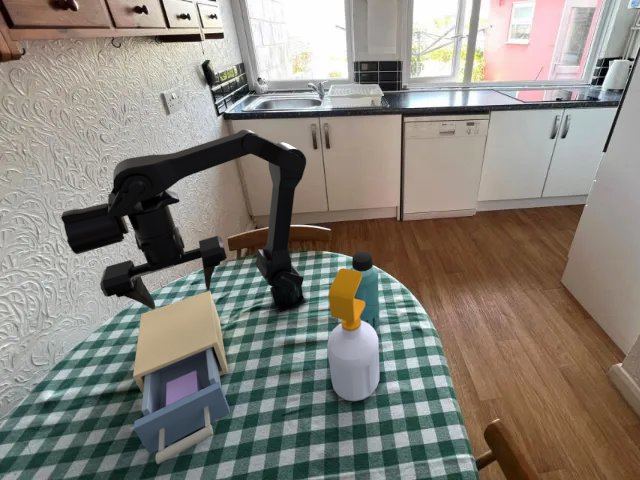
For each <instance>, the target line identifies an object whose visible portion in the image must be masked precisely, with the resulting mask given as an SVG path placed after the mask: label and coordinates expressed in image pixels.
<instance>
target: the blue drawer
mask: <svg viewBox="0 0 640 480" xmlns="http://www.w3.org/2000/svg"><path fill="white" fill-rule="evenodd" d="M195 370H196V371H197V374H198V376H199V379H200V381H201V383H202V386H203V389H202V390H200V391H198V392H196V393H194V394H192V395H189V396H187V397H185V398H183V399H181V400H179V401H177V402H175V403H172V404H170V405H168V406H166V384H167V383H168V382H170V381H172V380H175V379H177V378H179V377H182V376H184V375H186V374H188V373H191V372H193V371H195ZM228 403H229V402H228V400H227V398H226V395H225V393H224V390H223V387H222V383H221V376H220V374H219V367H218V359H217V355H216V352H215V349H214V346H213V347H211V348H209V349H206V350H204V351H201V352H199V353H197V354H194V355H192V356H189V357H187V358H185V359H182V360H180V361H177V362H175V363H173V364H170V365H168V366H166V367H163V368H161V369H158V370H156V371H154V372H151V373H149V374H146V375H145V380H144V391H143V394H142V403H141V413H142V414H143V417H140V418H139V419H136V420H134V422H133V430H134V432H135V434H136V435H137V437H138V438H139V440H140V442H141V443H142V445H143V447H144V448H145V450H146V452H147V453H148V454H149V455H151V454H153V453H155V452H156V453H155V462H156V464H157V465H160V464H161V463H164V462H165V461H167V460H169V459H171V458H173V457H174V456H176V455H178V454H180V453H182V452H184V451H185V450H188V449H189V448H191V447H193V446H195V445H197V444H199V443H201V442H203V441H204V440H207V439H208V438H210V437H212V436H213V435H214V429H213V425H212V424H211V423H213V422H215V421H217V420H218V419H221V418H223V417H224V416H227V415H228V414H230V406H229V404H228ZM203 427H204V428H203ZM199 429H200V430H199ZM197 430H198V431H197ZM195 431H196V432H195ZM188 435H189V436H188ZM176 441H177V442H176ZM174 442H175V443H174ZM172 443H173V444H172ZM168 445H169V446H168ZM166 446H167V447H166Z"/></svg>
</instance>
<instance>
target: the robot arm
mask: <svg viewBox="0 0 640 480" xmlns="http://www.w3.org/2000/svg"><path fill="white" fill-rule="evenodd" d="M248 155H253V156H255V157H257V158H259V159H261V160H263V161H266V162H267V164H268V170H269V171H268V172H269V175H270V179H271V183H272V189H271V199H270V210H269V218H268V219H269V220H268V228H267V229H268V230H267V237H266V238H267V239H266V244H265V245H264V246H263V249H260V248H259V249H256V260H255V263H254V265H255V267H256V268H257V270H258V271H259V272H260V274H261V275H262V277H263V279H264V280H265V282H266V283H267V285H268V286H270V288H269V289H270V294H271V299H272V302H273V305H274V307H275V308H276V307H277V308H276V309H277V310H278V312H279V313H283V312H286V311H288V310H291V309H293V308H296V307H298V306H301V305H303V304H305V303H306V298H305V296H304V292H303V283H304V277H303V275H302V274H301V273H300V272H299V270H297V268H296V267H295V266H294V265H293V264H292V262H293V261H292V258H291V254H290V250H289V243H290V242H289V241H290V234H291V224H292V217H293V209H294V200H295V193H296V192H295V191H296V188H297V187H298V185H299V183H300V182H301V181H302V179H303V176H304V173H305V169H306V167H307V158H306V155H305V154H304V153H303V151H302V150H300V149H298V148H296V147H294V146H293V145H291V144H289V143H287V142H283V141H282V142H277V143H276V142H274V141H271V140H269V139H268V138H265V137H263V136H261V135H259V134H257V133H256V132H254V131H252V130H250V129H241V130H239V131H237V132H236V133H233V134H232V133H231V134H229V135H226V136H223V137H219V138H217V139H214V140H210V141H207V142H204V143H201V144H198V145H195V146H192V147H189V148H186V149H182V150H179V151H175V152H171V153H163V154H162V153H161V154H147V155H142V156H135V157H130V158H129V157H128V158H125V159H123V160H121V161H119V162H118V163H117V164H116V166H115V167H114V169H113V172H112V173H113V174H112V175H113V177H112V180H113V181H112V188H111V192H110V193H108V197H107V202H105V203H101V204H96V205H92V206H88V207H84V208H74V209H69V210H64V211H63V212H62V213H61V217H60V220H61V222H62V223H63V228H64V231H65V234H66V238H67V239H66V242H67V245H68V246H69V248H70V249H71V251H72V252H73V253H74V254H75V255H80V254H84V253H87V252H91V251H94V250H98V249H101V248H104V247H108V246H112V245H115V244H118V243H122V242H123V241H124V240H125V235H128V234H129V233H130V231H129V227H128V224H127V221H126V218H125V217H127V218H128V220H129V222H130V225H131V227H132V230H133V232H134V240H135V244H136V247H137V250H141V252H142V254H143V256H144V258H145V261H146V263H145V262H144V263H142V264H138V265H135V263H134V261H133V260H131V259H129V260H126V261H122V262H117V263H114V264H111V265H108V266H106V267H105V268H104V270H103V273H102V276H101V280H100V283H99V286H100V290H101V293H102V294H103V295H104V297H108V298H109V297H113V296H116V298H122V297H125V298H128V299H130V300H133V301H136V302H138V303H140V304H142V305H143V306H145V307H147V308H149V309H151V310H155V309H156V303H155V301H154V299H153V296H152V295H151V293H150V292H149V290H148V288H147V286H146V285H145V283H144V281H143V279H142V277H144V276H147V275H150V274H154V273H158V272H160V271H163V270H167V269H171V268H174V267H176V266H179V265H182V264H185V263H189V262H192V261H194V260H199V259H201V261H202V270H203V276H204V277H203V278H204V284H205V288H206V291H210V289H211V282H212V277H213V275H214V271H215V269H216V267H219V266H221V262H223V261H225V260H227V258H228V256H227V253H226V250H225V249H226V248H225V246H224V243H223V239H222V237H220V236H218V235H216V236H212V237H208V238H204V239H201V240H198V245H199V247H197V248H193V249H190V250H187V251H185V247H186V246H185V242H184V239H183V237H182V234H181V233H180V229H179V226H176V224H175V221H174V218H173V215H172V212H171V210H170V207H169V206H171V205H175V204H179V203H180V200H181V199H180V198H179V195H178V193H177V192H174V191H170V190H169V189H170V188H172V187H174V185H175V184H176V183H178V182H179V181H181V180H183V179H184V178H187V177H189V176H192V175H194V174H198V173H201V172H204V171H206V170H209V169H211V168H214V167H217V166H220V165H222V164H225V163H228V162H231V161H234V160H236V159H239V158H242V157H245V156H248Z"/></svg>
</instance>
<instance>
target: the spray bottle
mask: <svg viewBox="0 0 640 480" xmlns="http://www.w3.org/2000/svg"><path fill="white" fill-rule="evenodd" d="M361 279H362V273H361V272H358V271H354V270H350V269H349V268H345V267H343V268H339V270H338V271H337V273H336V275H335V277H334V279H333V281H332V283H331V286H330V288H329V291H328V304H329V311H330V316H331V318H335V319H339V320H341V323H339V324H338V325H337V326H335V327H334V328H333V329H332V331H331V333H330V334H329V337H328V339H327V344H326V350H327V357H328V364H329V365H328V366H329V372H330V380H331V384H332V389H333V391H334V392H335V393H336V394H337V396H338V397H340V398H342V399H343V400H345V401H350V402H358V401H363V400H365V399H367V398H368V397H370V396H371V395H372V394H373V392H374V391H375V390H376V389H377V387H378V385H379V382H380V347H379V337H378V334H377V331H375V330H374V328H373V327H372V326H371V325H370V324H369V323H366V322H364V321H362V320H361V319H360V315H361V313H362V311H363V309H364V307H365V302H364V301H362V300H358V299H354V297H355V293H356V291H357V289H358V286H359V284H360V281H361Z"/></svg>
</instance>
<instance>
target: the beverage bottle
mask: <svg viewBox="0 0 640 480" xmlns="http://www.w3.org/2000/svg"><path fill="white" fill-rule="evenodd" d="M351 266H352V268H350V269H349V270H354V271H358V272H361V273H362V279H361V281H360V284H359V286H358V289H357V291H356V293H355V297H354V299H358V300H362V301H364V302H365V307H364V309H363V311H362V313H361V315H360V319H361V320H362V321H364V322H366V323H369V324H370V325H371V326H372V327H373V328H374V330H375V332H377V330H378V328H379V325H380V314H381V311H380V310H381V309H380V308H381V306H380V299H379V271H378V269H377V268H376V267H374V261H373V256H372V254H371V253H370V252H368V251H365V250H364V251H362V250H361V251H357V252H355V253H354V254H353V255H352V260H351Z"/></svg>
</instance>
